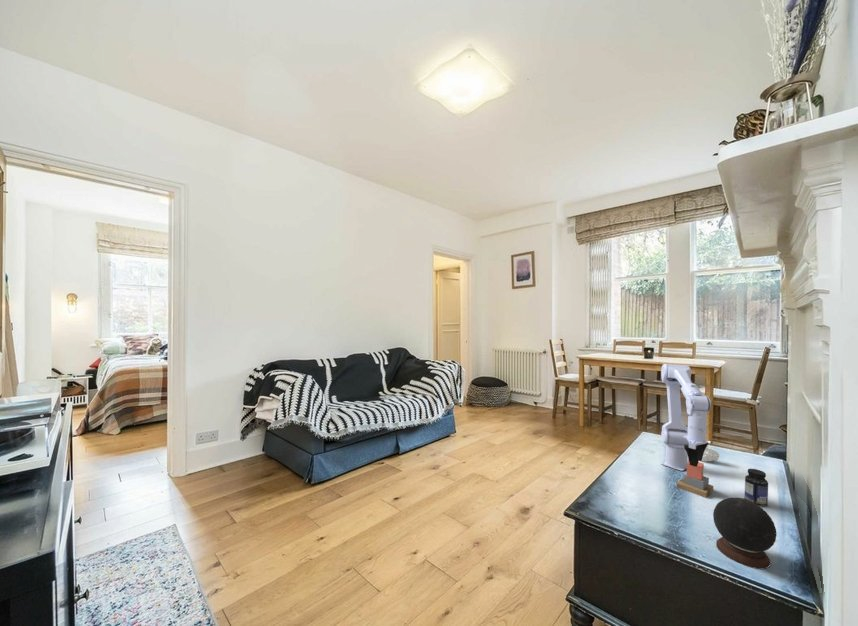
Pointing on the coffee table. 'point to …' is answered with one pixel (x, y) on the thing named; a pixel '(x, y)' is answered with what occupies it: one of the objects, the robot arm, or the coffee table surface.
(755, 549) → the black and brown oval
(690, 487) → the tower base
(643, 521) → the coffee table surface
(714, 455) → the white lumpy piece
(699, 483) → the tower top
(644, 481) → the coffee table surface
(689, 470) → the stack block
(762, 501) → the pill bottle
